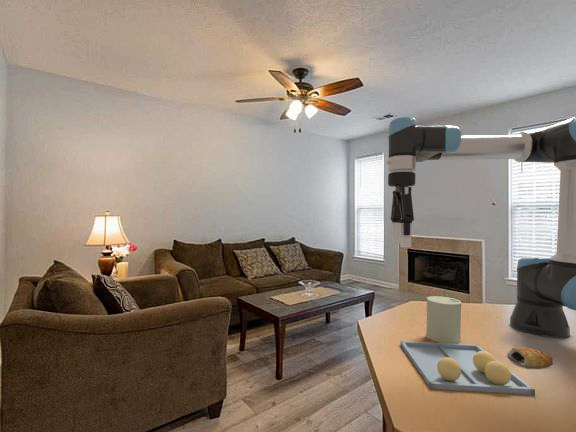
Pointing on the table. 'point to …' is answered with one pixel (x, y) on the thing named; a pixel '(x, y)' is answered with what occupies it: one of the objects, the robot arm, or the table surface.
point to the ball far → (449, 369)
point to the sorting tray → (470, 378)
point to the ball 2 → (497, 373)
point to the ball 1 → (482, 360)
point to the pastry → (530, 357)
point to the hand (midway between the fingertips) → (400, 245)
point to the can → (443, 319)
